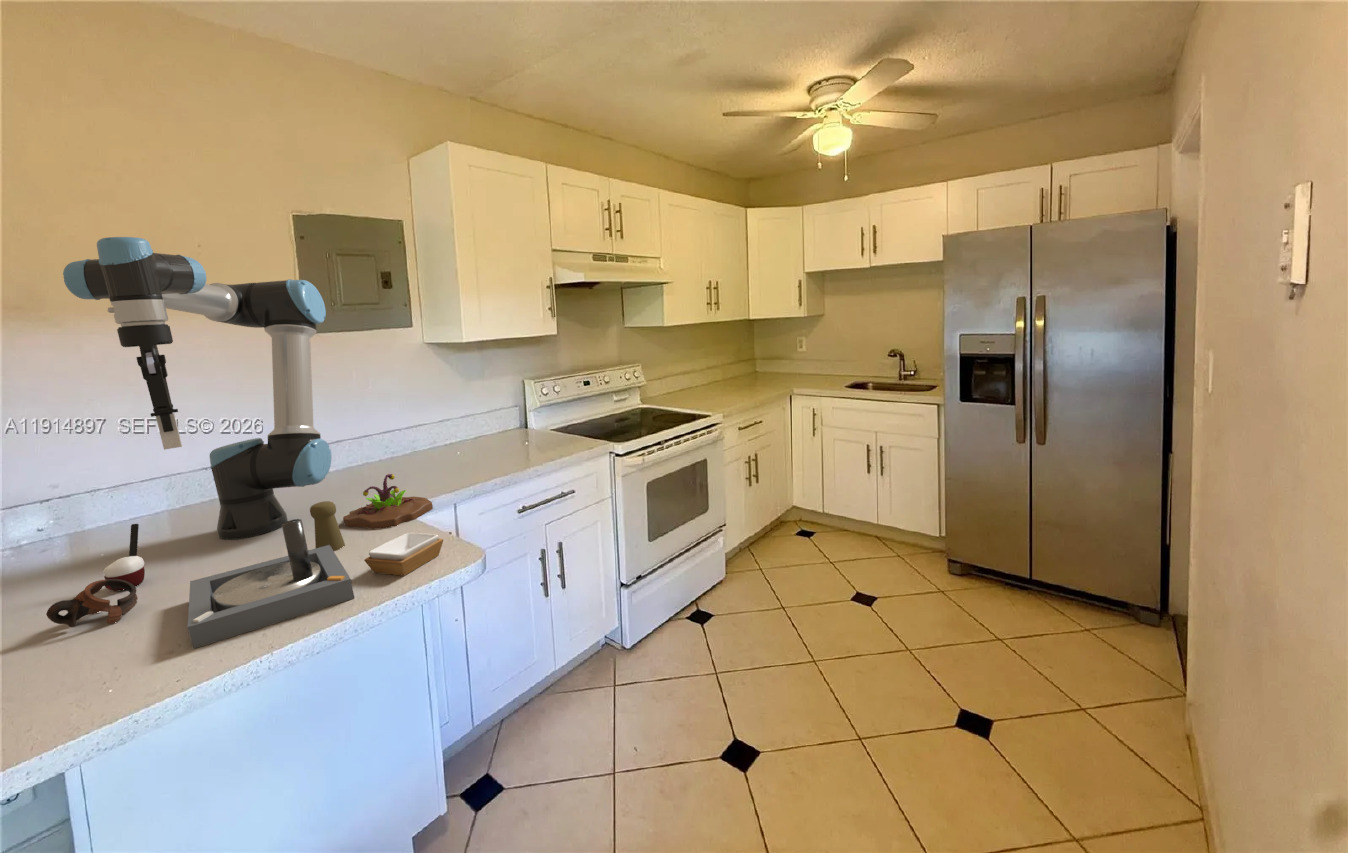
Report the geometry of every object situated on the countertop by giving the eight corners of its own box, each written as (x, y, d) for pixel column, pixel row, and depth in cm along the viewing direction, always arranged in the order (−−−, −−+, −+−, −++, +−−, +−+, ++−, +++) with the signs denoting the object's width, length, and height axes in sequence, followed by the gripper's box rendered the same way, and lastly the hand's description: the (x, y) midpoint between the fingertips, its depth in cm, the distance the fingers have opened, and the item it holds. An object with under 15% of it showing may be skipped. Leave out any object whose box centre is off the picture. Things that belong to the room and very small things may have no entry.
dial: (192, 616, 107) (174, 546, 104) (255, 574, 123) (241, 513, 121) (289, 607, 107) (274, 538, 104) (338, 567, 124) (326, 506, 121)
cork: (332, 553, 137) (323, 507, 135) (309, 553, 138) (300, 507, 136) (351, 543, 143) (342, 498, 141) (329, 542, 144) (320, 498, 142)
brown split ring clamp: (116, 606, 119) (129, 571, 118) (138, 635, 115) (151, 599, 114) (32, 621, 108) (45, 582, 107) (53, 654, 104) (67, 614, 103)
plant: (446, 506, 167) (440, 467, 165) (389, 532, 149) (381, 488, 147) (393, 502, 175) (386, 464, 172) (332, 526, 157) (324, 485, 155)
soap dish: (404, 580, 120) (400, 556, 119) (366, 576, 123) (361, 553, 122) (446, 554, 132) (443, 532, 131) (410, 552, 135) (406, 530, 134)
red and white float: (112, 599, 122) (94, 545, 119) (95, 594, 125) (78, 541, 122) (166, 577, 130) (150, 525, 127) (149, 573, 133) (134, 522, 130)
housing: (194, 599, 118) (189, 579, 117) (333, 561, 132) (329, 543, 131) (193, 649, 99) (186, 625, 98) (354, 598, 113) (350, 576, 112)
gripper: (120, 326, 115) (150, 446, 120) (111, 325, 105) (145, 456, 110) (170, 323, 120) (197, 439, 125) (167, 321, 110) (197, 448, 114)
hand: (173, 447), depth 117 cm, fingers closed
